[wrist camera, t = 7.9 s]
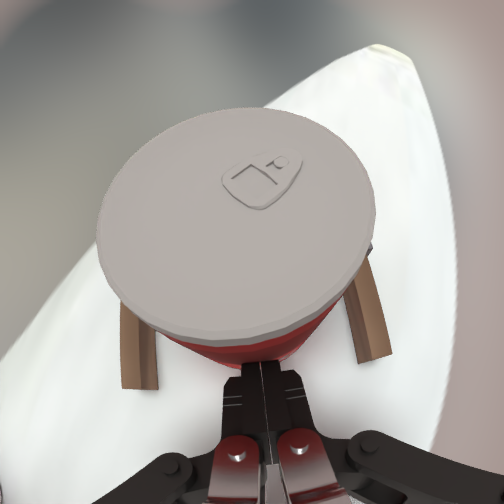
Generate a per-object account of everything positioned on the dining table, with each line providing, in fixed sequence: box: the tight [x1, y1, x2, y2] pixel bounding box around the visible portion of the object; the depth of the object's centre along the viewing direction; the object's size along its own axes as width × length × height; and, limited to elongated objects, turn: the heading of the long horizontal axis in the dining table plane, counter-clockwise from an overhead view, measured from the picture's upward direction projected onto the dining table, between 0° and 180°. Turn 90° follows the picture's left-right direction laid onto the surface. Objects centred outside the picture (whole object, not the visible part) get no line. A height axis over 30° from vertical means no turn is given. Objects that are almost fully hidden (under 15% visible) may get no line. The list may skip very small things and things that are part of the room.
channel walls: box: [120, 255, 392, 390], centre depth 15 cm, size 14×6×2 cm, turn 97°
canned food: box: [96, 108, 376, 369], centre depth 12 cm, size 8×8×11 cm
